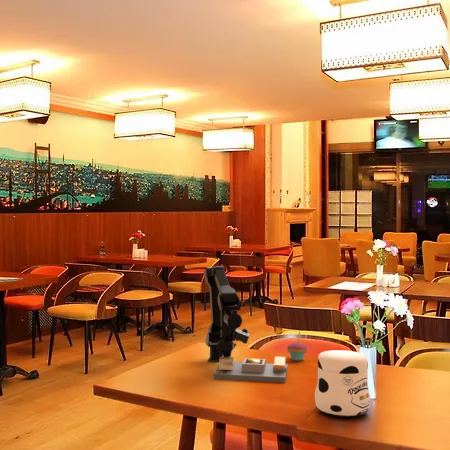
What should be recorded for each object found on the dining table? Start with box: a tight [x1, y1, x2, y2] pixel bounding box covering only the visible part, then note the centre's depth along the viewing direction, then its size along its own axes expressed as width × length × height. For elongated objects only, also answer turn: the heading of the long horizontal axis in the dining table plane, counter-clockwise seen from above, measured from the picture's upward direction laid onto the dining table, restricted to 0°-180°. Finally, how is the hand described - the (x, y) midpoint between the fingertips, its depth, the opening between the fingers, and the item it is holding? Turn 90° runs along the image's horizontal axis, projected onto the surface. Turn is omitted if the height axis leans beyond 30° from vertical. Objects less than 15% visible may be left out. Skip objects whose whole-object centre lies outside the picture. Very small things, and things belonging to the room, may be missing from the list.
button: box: [248, 358, 261, 364], centre depth 228 cm, size 5×5×3 cm
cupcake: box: [286, 331, 308, 362], centre depth 250 cm, size 9×8×12 cm
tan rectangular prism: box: [218, 356, 235, 370], centre depth 227 cm, size 4×5×4 cm
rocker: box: [273, 356, 286, 369], centre depth 227 cm, size 7×4×1 cm, turn 171°
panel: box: [212, 357, 288, 384], centre depth 228 cm, size 18×27×5 cm, turn 81°
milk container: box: [314, 349, 371, 419], centre depth 187 cm, size 17×17×18 cm
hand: (228, 362), depth 231 cm, fingers closed
